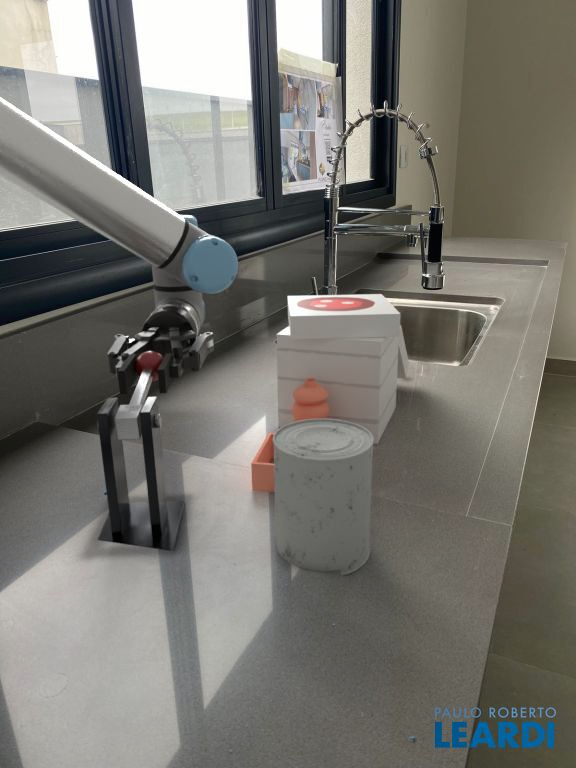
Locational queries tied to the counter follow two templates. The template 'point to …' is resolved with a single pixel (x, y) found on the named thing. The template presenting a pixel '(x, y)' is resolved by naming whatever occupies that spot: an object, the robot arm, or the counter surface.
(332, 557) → the grey tin can
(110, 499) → the bracket
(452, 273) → the counter surface
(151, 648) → the counter surface
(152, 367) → the lever
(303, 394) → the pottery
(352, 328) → the pizza boxes
